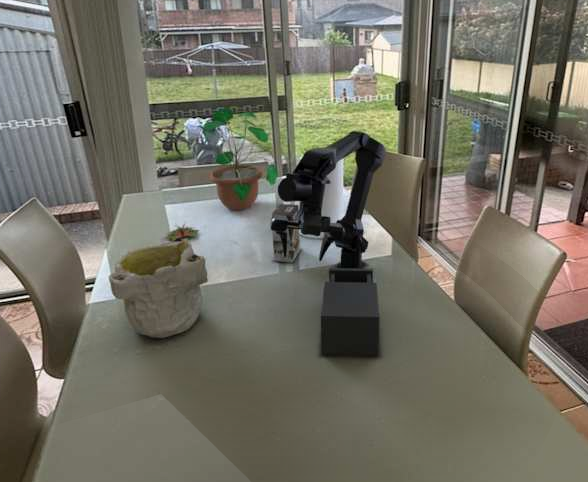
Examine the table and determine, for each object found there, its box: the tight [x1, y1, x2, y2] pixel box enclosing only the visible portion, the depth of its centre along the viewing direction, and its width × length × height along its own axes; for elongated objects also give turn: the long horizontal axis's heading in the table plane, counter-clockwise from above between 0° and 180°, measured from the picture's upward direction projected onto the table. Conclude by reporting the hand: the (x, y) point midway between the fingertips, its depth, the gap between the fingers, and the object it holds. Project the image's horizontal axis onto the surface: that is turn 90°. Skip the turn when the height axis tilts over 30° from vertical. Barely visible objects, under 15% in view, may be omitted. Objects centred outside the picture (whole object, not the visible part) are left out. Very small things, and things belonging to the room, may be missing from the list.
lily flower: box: [163, 221, 201, 242], centre depth 155 cm, size 12×12×5 cm
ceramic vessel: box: [108, 239, 209, 339], centre depth 108 cm, size 23×24×25 cm
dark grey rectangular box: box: [320, 281, 380, 357], centre depth 103 cm, size 14×13×11 cm
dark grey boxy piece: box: [328, 267, 374, 283], centre depth 113 cm, size 16×11×9 cm
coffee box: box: [270, 203, 301, 264], centre depth 139 cm, size 9×6×16 cm
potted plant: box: [203, 108, 279, 211], centre depth 177 cm, size 31×29×40 cm
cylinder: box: [294, 156, 344, 239], centre depth 156 cm, size 17×17×28 cm
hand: (302, 258), depth 114 cm, fingers open, 9 cm apart
